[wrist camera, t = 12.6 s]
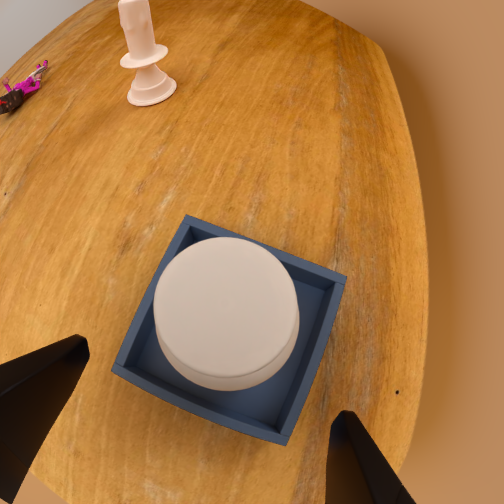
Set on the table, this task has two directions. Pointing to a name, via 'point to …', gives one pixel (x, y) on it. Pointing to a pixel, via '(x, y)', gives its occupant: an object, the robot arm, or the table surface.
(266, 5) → the table surface
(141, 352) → the tray
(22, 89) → the character figurine
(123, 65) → the candle
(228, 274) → the pill bottle
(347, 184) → the table surface
